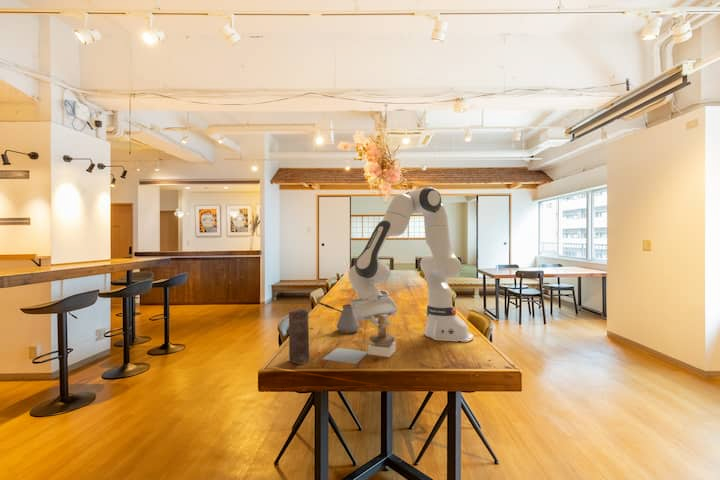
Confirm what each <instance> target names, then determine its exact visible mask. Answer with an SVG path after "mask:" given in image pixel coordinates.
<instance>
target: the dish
mask: <svg viewBox="0 0 720 480" xmlns="http://www.w3.org/2000/svg"><path fill="white" fill-rule="evenodd" d="M396 344H397V342H396V341H394V342H392V343H388V344H378V343H373V342H371V341H370V343H369V344H368V345H367V352H368V353H367V355H371V356H377V357H385V358H391V356H392V355H393V354H394V353H395V351H396V350H397V348H396V347H397V346H396Z"/></svg>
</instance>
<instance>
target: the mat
mask: <svg viewBox="0 0 720 480" xmlns="http://www.w3.org/2000/svg"><path fill="white" fill-rule="evenodd" d="M367 355H368V351H362V350H356V349H348V348H340V347H337V348H335V349H334V350H332V351H331V352H330V353H329V354H327V355H325V356H324V357H323V358H322V360H325V361H330V362H331V361H333V362H337V363H338V362H340V363H344V364H345V363H346V364H351V365H352V364H353V365H357V364H358V363H359V362H360V361H361V360H362V359H364V357H366V356H367Z"/></svg>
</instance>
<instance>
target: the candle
mask: <svg viewBox="0 0 720 480" xmlns="http://www.w3.org/2000/svg"><path fill="white" fill-rule="evenodd" d="M288 330H289V331H288V338H289V340H288V341H289V342H288V347H289V348H288V352H289V353H288V355H289V358H288V361H290V363H293V364H299V365H304V364H308V363H310V340H309V339H310V335H309V333H310V332H309V331H310V330H309V310H308V309H307V308H306V309H305V308H297V309H295V310H289V311H288Z"/></svg>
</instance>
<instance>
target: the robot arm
mask: <svg viewBox="0 0 720 480" xmlns="http://www.w3.org/2000/svg"><path fill="white" fill-rule="evenodd" d="M412 214H422V216H423V220H424V221H423V223H424V225H423V226H424V235H425V236H424V237H425V243H426V245H427V246H428V247H429V249H430V252H431V253H428V254H425V255H424V256H423V257H422V258H421V259H420V263H419V266H420V268H421V271H422V272H423V275H424V277H425V281H426V286H427V306H426V316H427V319H426V327H425V329H424V330H425V331H424V336H425V337H428V338H431V340H434V341H441V342H442V341H444V342H458V341H461V342H463V343H469V341H470V342H472V341H473V340H474V335H473V333H472V332H469V327H468V324H467V322H466V321H465V320H463V319H462V318H461V317H459V316H458V315H457V309H456V307H454V306H453V305H452V300H453V299H452V297H453V296H452V288H451V287H450V285H449V283H448V281H447V279H453V278H456V277H458V276H459V275H460V274H461V272H462V269H463V268H462V262H461V261H460V259H459V258H458V257H457V256H456V254H455V252H454V249H453V246H452V244H451V240H450V230H449V221H448V214H447V211H446V207H445V205H444V204H443V203H442V197H441V194H440V192H439V190H438V189H437V188H436V187H430V186H427V187H421V188H417V189H414V190H412V191H408V192H405V193H398V194H396V195H395V196H393V198H392V200H391V202H390V204H389V205H388V207H387V210H386V212H385V214H384V217H383V218H382V220H381V221H380V222H378V223H377V224H376V227H375V228H374V230H373V231H372V234H371V236H370V238H369V239H368V242H367V243H366V245H365V247H364V249H363V250H362V252H361V253H360V254H359V256H357V258H356V260H355V262H354V263H355V264H354V265H353V266H352V267H350V269H349V271H348V279H349V282H350V284H351V287H352V289H353V291H355V294H356V298H357V299H351V300H350V302H349V304H350V305H351V308H352V310H353V314H354V317H355V319H356V320H357V321H358V322H361V321H366V320H369V321H370V322H371V323H372V324H373V325H374V326H375V328H378V327H380V326H381V324H380V322H379V321H378V315H380V314H383V315H386V327H387V326H390V321H389V317H390V316H395V315H396V314H397V312H398V306H397V305H396V303H395V302H394V300H393V299H392V298H391V297H390V296H389V295H390V293H389V291H387V290H383V289H378V288H376V287H378V286H379V285H383V283H385V282H387V280H388V279H389V278H390V275H391V268H390V266H389V265H388V264H386V263H385V262H384V261H382V260H380V259H379V253H380V251H381V249H382V247H383V246H384V243H385V241H386V240H387V239H388V238H389V237H399V236H401V235H403V234H404V233H405V231H406V230H407V228H408V225H409V223H410V220H411V216H412ZM472 339H473V340H472ZM471 340H472V341H471Z"/></svg>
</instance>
